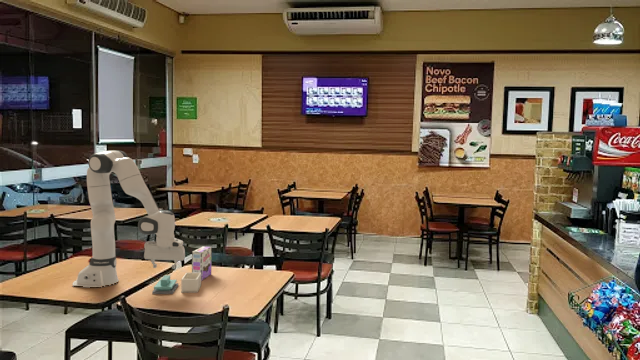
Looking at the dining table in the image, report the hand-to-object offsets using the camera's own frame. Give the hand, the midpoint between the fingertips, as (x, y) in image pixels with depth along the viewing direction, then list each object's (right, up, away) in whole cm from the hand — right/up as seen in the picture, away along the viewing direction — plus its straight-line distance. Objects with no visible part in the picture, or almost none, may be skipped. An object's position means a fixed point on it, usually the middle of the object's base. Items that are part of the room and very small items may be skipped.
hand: (164, 268), depth 249 cm
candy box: (+14, -10, +24) cm, 29 cm away
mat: (0, -11, +1) cm, 11 cm away
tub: (+13, -12, +3) cm, 18 cm away
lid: (0, -10, +1) cm, 10 cm away
